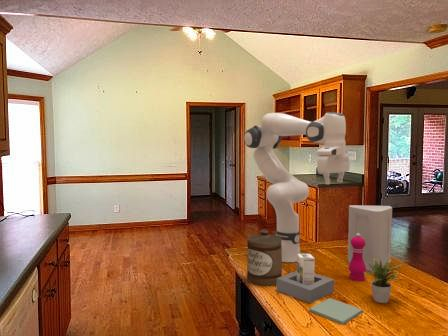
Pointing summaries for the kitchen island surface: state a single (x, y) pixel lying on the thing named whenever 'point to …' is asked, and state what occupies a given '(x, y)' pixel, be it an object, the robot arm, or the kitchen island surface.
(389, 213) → the white triangular bin
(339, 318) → the mat
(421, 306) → the kitchen island surface
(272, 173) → the robot arm
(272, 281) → the wooden container
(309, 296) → the frame
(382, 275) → the house plant
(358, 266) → the pepper mill
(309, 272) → the syrup box
